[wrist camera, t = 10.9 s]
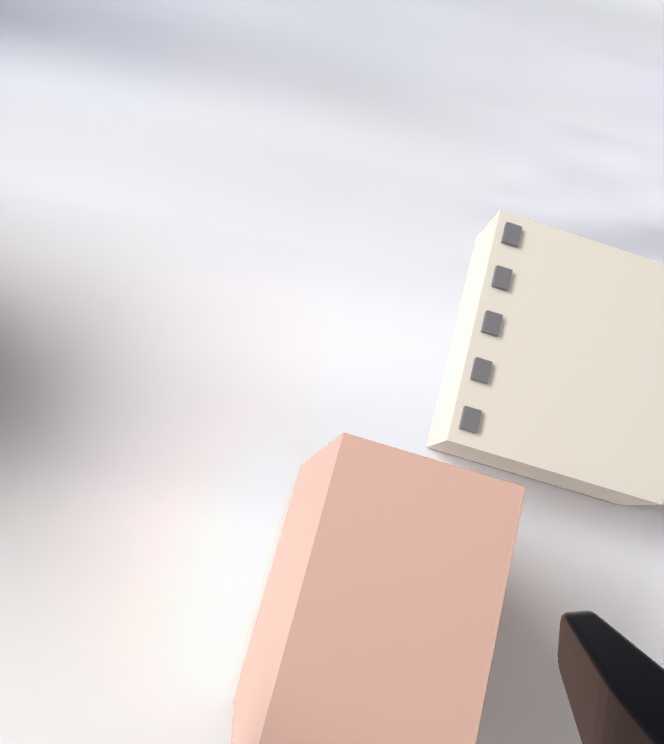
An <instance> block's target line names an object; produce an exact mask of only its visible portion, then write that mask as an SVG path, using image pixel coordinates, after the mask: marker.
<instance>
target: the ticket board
mask: <svg viewBox="0 0 664 744" xmlns="http://www.w3.org/2000/svg"><path fill="white" fill-rule="evenodd" d="M426 447H427V448H431V449H434V450H437V451H441V452H444V453H447V454H451V455H454V456H457V457H461V458H464V459H468V460H471V461H474V462H478V463H481V464H484V465H488V466H491V467H494V468H498V469H501V470H504V471H508V472H511V473H514V474H518V475H521V476H524V477H528V478H531V479H534V480H538V481H541V482H545V483H548V484H551V485H555V486H558V487H561V488H565V489H568V490H571V491H575V492H578V493H581V494H585V495H588V496H591V497H595V498H598V499H601V500H605V501H608V502H611V503H615V504H618V505H663V501H664V264H663V263H660V262H657V261H654V260H650V259H647V258H644V257H641V256H638V255H635V254H632V253H629V252H626V251H623V250H620V249H617V248H614V247H611V246H608V245H605V244H602V243H599V242H596V241H593V240H590V239H587V238H584V237H581V236H578V235H575V234H572V233H569V232H566V231H563V230H560V229H557V228H554V227H550V226H547V225H544V224H541V223H538V222H535V221H532V220H529V219H526V218H523V217H520V216H517V215H514V214H511V213H508V212H505V211H502V210H500V211H499V212H498V213H497V214H496V215H495V217H494V218H493V219H492V220H491V221H490V222H489V224H488V225H487V226H486V227H485V228H484V229H483V231H482V232H481V233H480V234H479V235H478V236H477V238H476V241H475V245H474V249H473V253H472V257H471V262H470V266H469V270H468V274H467V278H466V283H465V287H464V291H463V295H462V299H461V304H460V308H459V312H458V316H457V320H456V325H455V329H454V333H453V337H452V341H451V346H450V350H449V354H448V358H447V362H446V367H445V371H444V375H443V379H442V383H441V388H440V392H439V396H438V400H437V404H436V409H435V413H434V417H433V421H432V425H431V430H430V434H429V438H428V442H427V446H426Z"/></svg>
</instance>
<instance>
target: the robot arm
mask: <svg viewBox="0 0 664 744" xmlns="http://www.w3.org/2000/svg"><path fill="white" fill-rule="evenodd" d="M558 664H559V669H560V673H561V676H562V679H563V683H564V686H565V689H566V692H567V695H568V699H569V702H570V705H571V708H572V711H573V715H574V718H575V721H576V724H577V727H578V731H579V734H580V737H581V740H582V743H583V744H664V669H663V668H662V667H661V666H660V665H658V664H657V663H656V662H655V661H653V660H652V659H651V658H650V657H648V656H647V655H646V654H645V653H643V652H642V651H641V650H640V649H639V648H637V647H636V646H635V645H634V644H632V643H631V642H630V641H629V640H627V639H626V638H625V637H624V636H622V635H621V634H620V633H619V632H617V631H616V630H615V629H614V628H613V627H611V626H610V625H609V624H608V623H606V622H605V621H604V620H603V619H601V618H600V617H599V616H598V615H596V614H595V613H593V612H591V611H580V612H569V613H565V614H563V615H562V617H561V621H560V633H559V645H558Z"/></svg>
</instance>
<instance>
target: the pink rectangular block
mask: <svg viewBox="0 0 664 744" xmlns="http://www.w3.org/2000/svg"><path fill="white" fill-rule="evenodd" d="M524 492H525V486H521V485H518V484H515V483H511V482H508V481H504V480H501V479H498V478H494V477H491V476H488V475H484V474H481V473H478V472H474V471H471V470H468V469H464V468H461V467H457V466H454V465H451V464H447V463H444V462H441V461H437V460H434V459H431V458H427V457H424V456H420V455H417V454H414V453H410V452H407V451H404V450H400V449H397V448H394V447H390V446H387V445H383V444H380V443H377V442H373V441H370V440H367V439H363V438H360V437H357V436H353V435H350V434H346V433H343V434H341V435H340V436H339V437H337V438H336V439H335V440H333V441H332V442H331V443H329V444H328V445H327V446H326V447H324V448H323V449H322V450H320V451H319V452H318V453H316V454H315V455H314V456H312V457H311V458H310V459H309V460H307V461H306V462H305V463H303V464H302V465H301V467H300V471H299V474H298V478H297V481H296V485H295V488H294V492H293V495H292V499H291V502H290V505H289V509H288V512H287V516H286V519H285V523H284V526H283V530H282V533H281V537H280V540H279V544H278V547H277V551H276V554H275V558H274V561H273V565H272V568H271V572H270V575H269V579H268V582H267V586H266V589H265V593H264V596H263V600H262V603H261V607H260V610H259V614H258V617H257V620H256V624H255V627H254V631H253V634H252V638H251V641H250V645H249V648H248V652H247V655H246V659H245V662H244V666H243V669H242V673H241V676H240V680H239V683H238V687H237V690H236V694H235V697H234V702H233V719H232V735H231V744H476V739H477V734H478V729H479V724H480V719H481V713H482V708H483V703H484V698H485V693H486V688H487V683H488V677H489V672H490V667H491V662H492V657H493V652H494V647H495V641H496V636H497V631H498V626H499V621H500V616H501V611H502V605H503V600H504V595H505V590H506V585H507V580H508V575H509V570H510V564H511V559H512V554H513V549H514V544H515V539H516V534H517V528H518V523H519V518H520V513H521V508H522V503H523V498H524Z"/></svg>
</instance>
